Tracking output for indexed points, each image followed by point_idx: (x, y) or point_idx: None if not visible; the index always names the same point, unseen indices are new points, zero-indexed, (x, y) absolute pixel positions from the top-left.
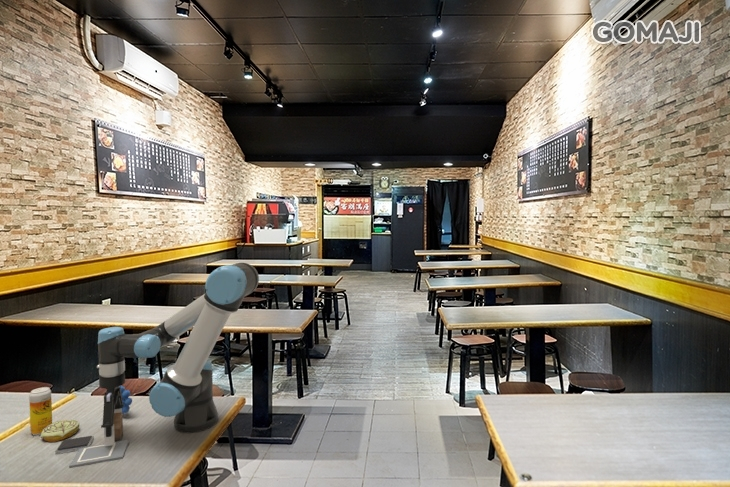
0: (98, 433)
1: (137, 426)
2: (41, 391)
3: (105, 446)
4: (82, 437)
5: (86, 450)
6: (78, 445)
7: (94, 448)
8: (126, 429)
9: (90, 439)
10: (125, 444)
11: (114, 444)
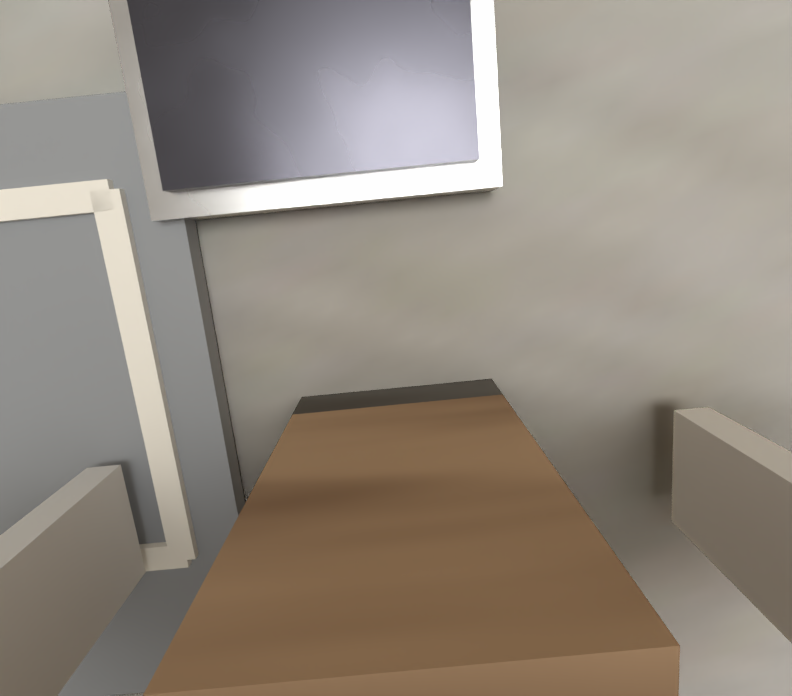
0: (664, 200)
1: (684, 656)
2: None
3: (131, 459)
4: (454, 7)
5: (57, 230)
6: (140, 53)
7: (96, 329)
8: (645, 551)
9: (376, 176)
10: (142, 677)
11: (150, 563)
